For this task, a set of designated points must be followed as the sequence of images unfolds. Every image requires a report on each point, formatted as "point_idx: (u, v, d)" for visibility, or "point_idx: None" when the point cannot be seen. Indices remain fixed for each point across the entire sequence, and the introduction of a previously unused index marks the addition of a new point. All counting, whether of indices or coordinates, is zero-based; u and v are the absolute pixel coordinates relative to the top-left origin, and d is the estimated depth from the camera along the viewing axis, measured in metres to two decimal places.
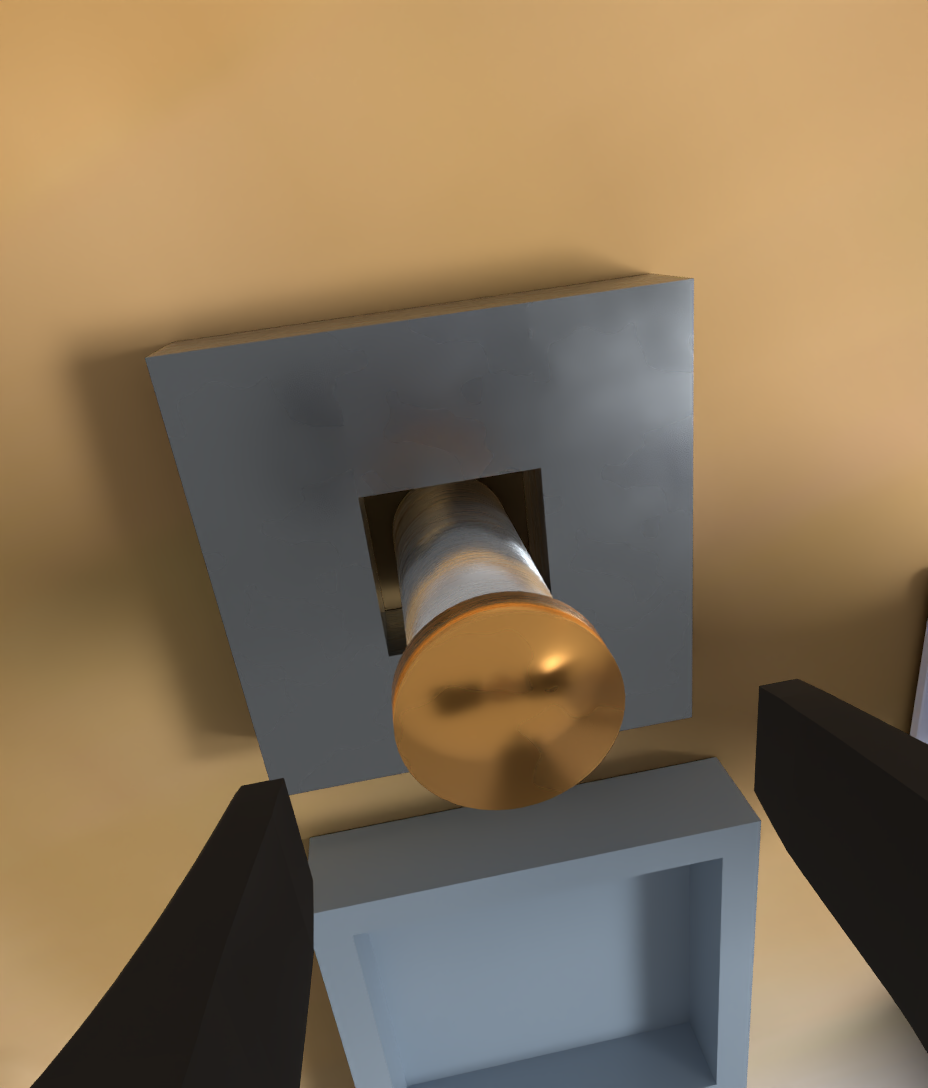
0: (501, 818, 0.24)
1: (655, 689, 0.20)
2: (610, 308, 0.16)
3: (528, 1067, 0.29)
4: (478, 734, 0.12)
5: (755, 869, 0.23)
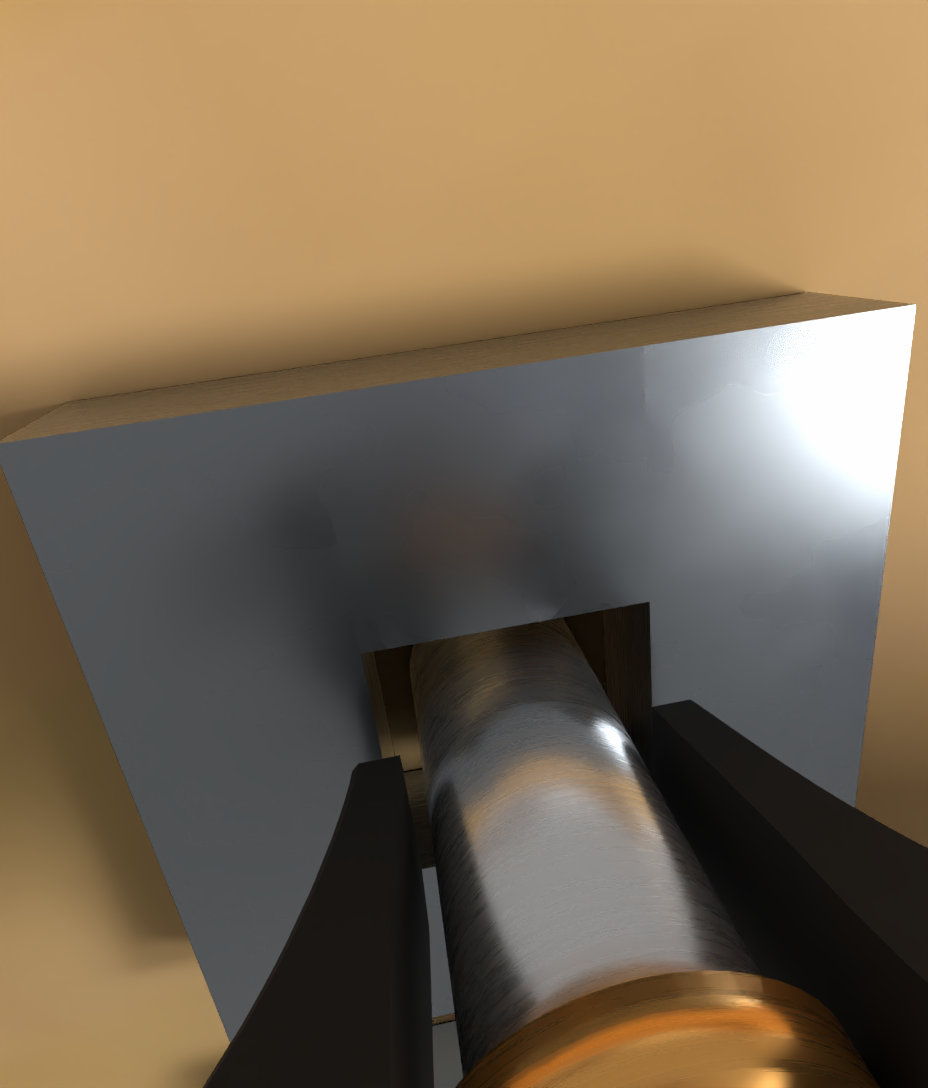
0: None
1: None
2: (777, 354, 0.10)
3: None
4: None
5: None
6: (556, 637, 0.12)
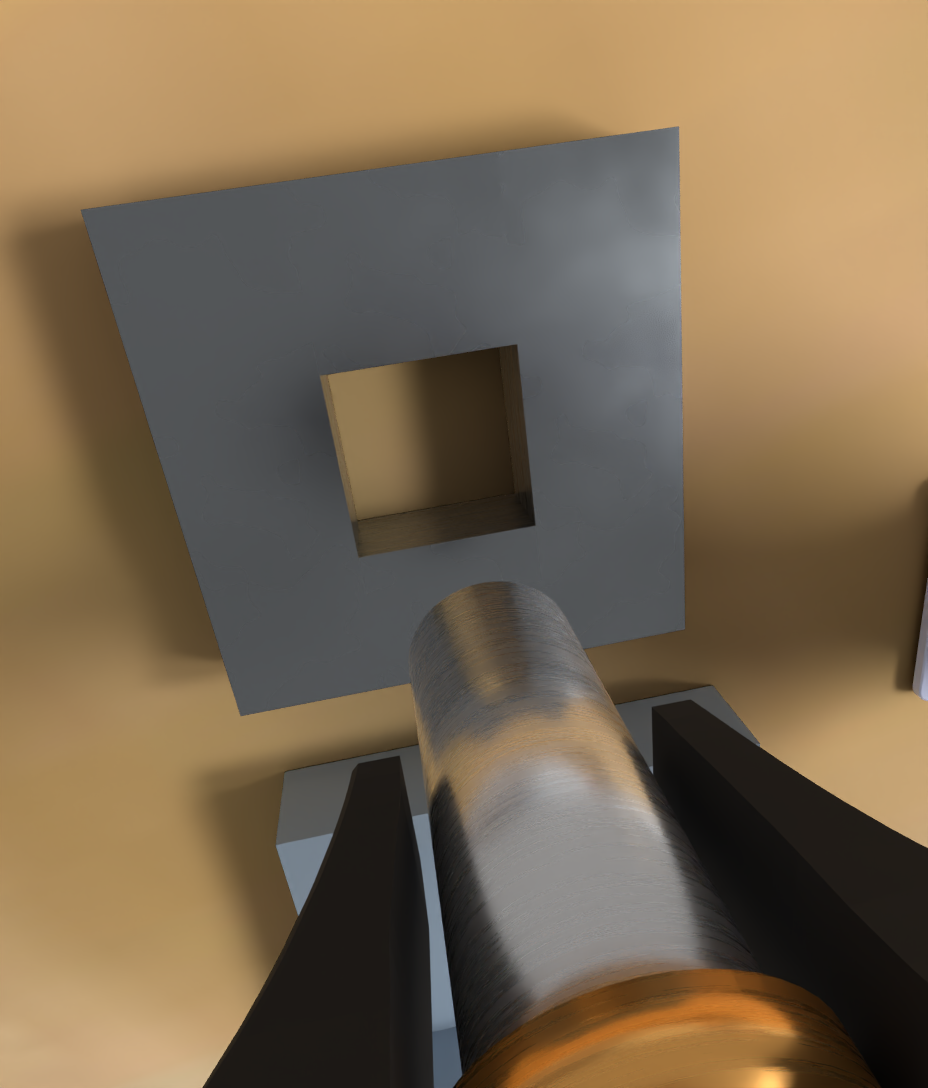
0: None
1: (645, 597, 0.19)
2: (588, 160, 0.15)
3: None
4: None
5: None
6: (556, 632, 0.12)
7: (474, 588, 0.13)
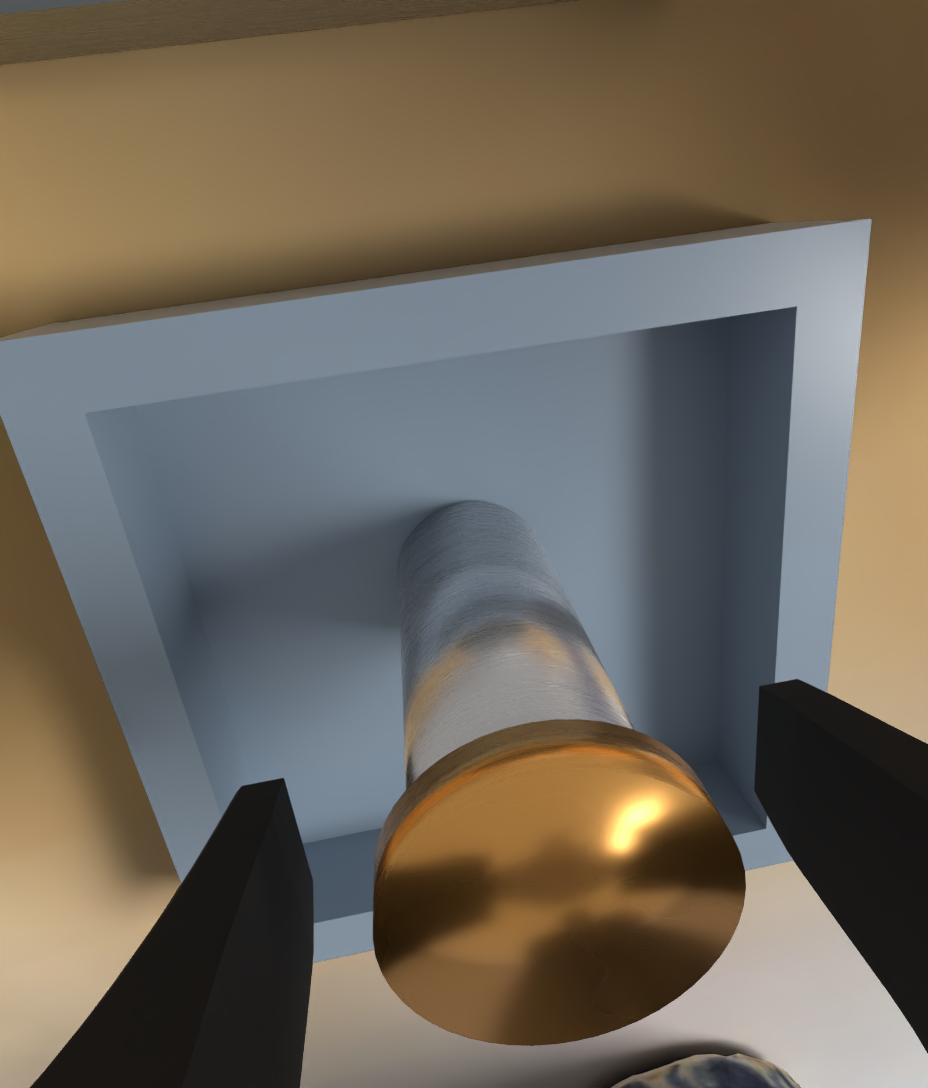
0: (392, 278, 0.13)
1: None
2: None
3: None
4: (509, 945, 0.08)
5: (854, 346, 0.13)
6: (520, 537, 0.14)
7: (454, 506, 0.15)
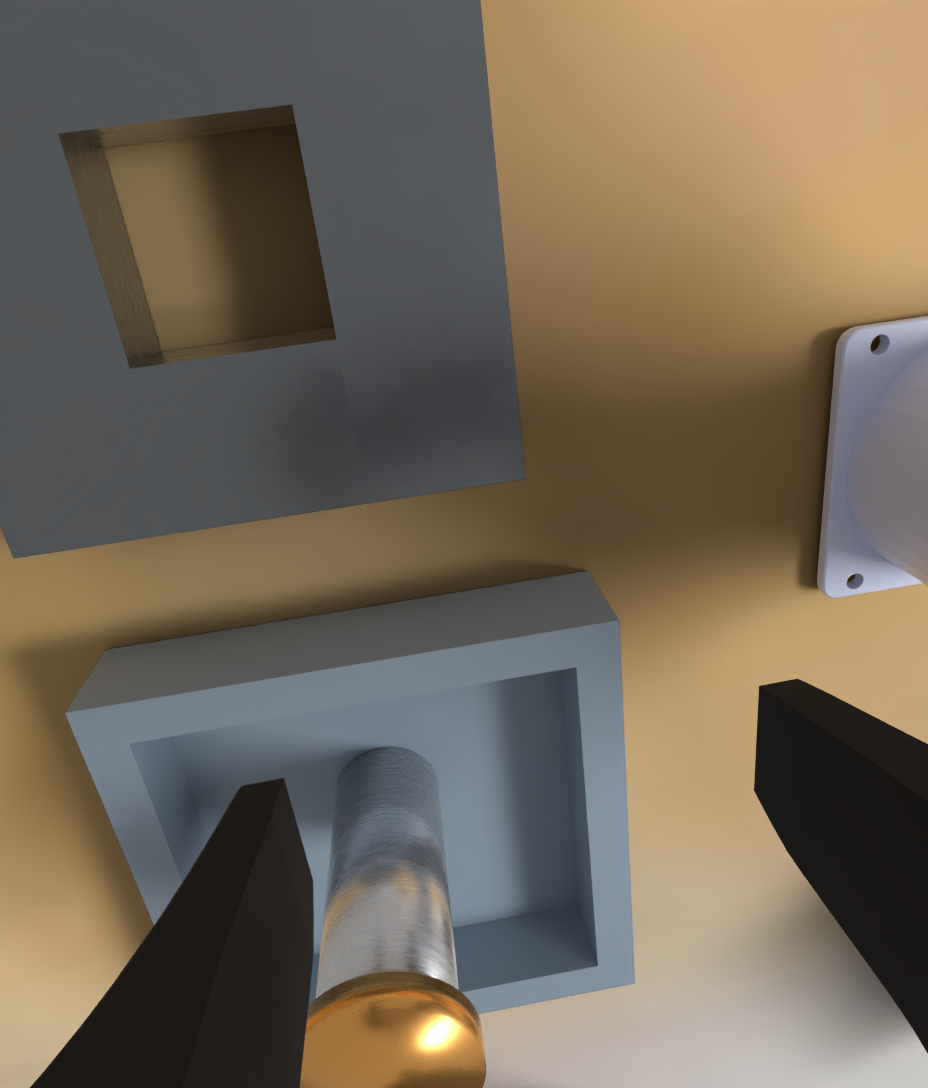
0: (325, 627, 0.20)
1: (475, 437, 0.17)
2: None
3: None
4: None
5: (618, 685, 0.19)
6: (410, 783, 0.21)
7: (371, 752, 0.22)
